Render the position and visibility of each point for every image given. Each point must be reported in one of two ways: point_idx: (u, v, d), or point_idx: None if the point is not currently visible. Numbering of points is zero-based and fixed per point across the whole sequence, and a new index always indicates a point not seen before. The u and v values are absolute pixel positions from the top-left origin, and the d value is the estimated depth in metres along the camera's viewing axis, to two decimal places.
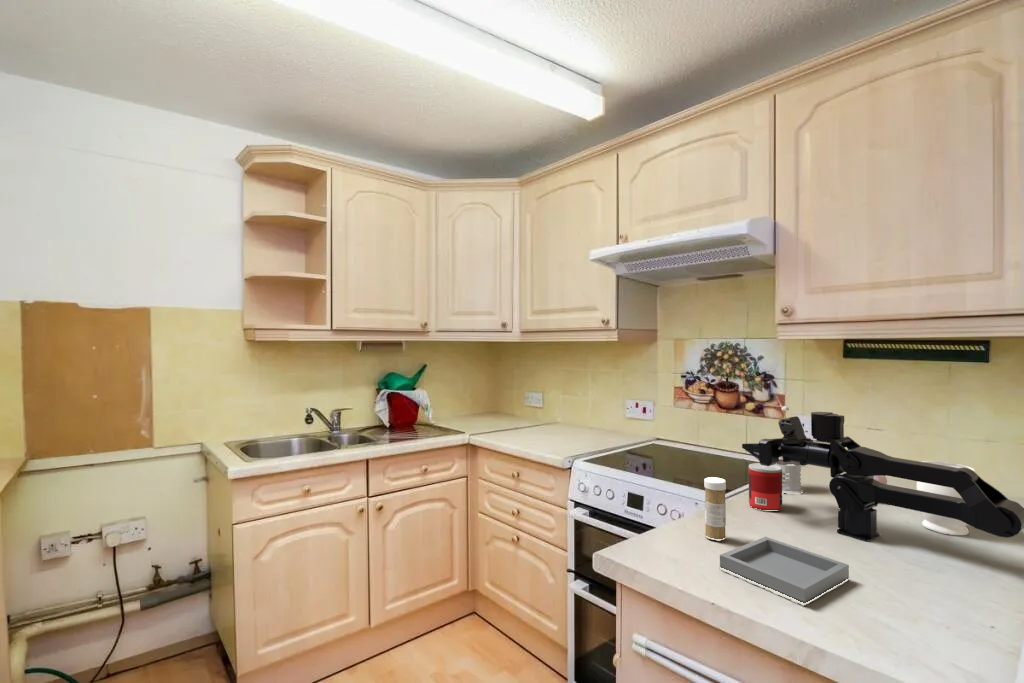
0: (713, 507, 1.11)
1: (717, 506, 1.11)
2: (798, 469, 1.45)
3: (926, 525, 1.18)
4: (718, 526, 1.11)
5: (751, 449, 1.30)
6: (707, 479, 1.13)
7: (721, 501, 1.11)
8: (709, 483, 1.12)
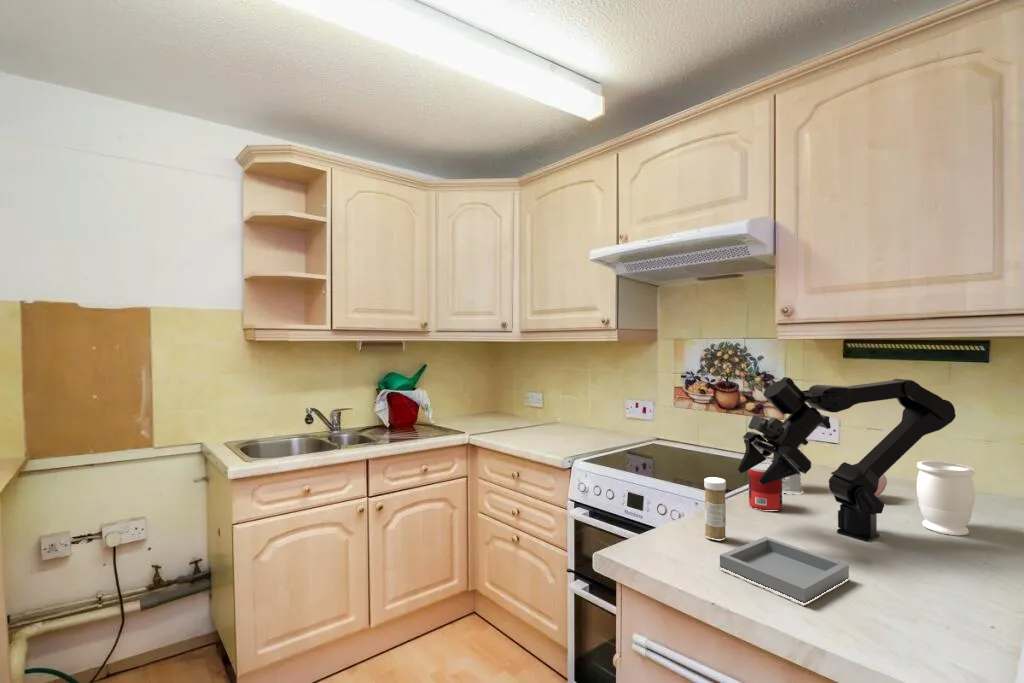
0: (713, 507, 1.11)
1: (717, 506, 1.11)
2: None
3: (926, 525, 1.18)
4: (718, 526, 1.11)
5: (774, 475, 1.08)
6: (707, 479, 1.13)
7: (721, 501, 1.11)
8: (709, 483, 1.11)
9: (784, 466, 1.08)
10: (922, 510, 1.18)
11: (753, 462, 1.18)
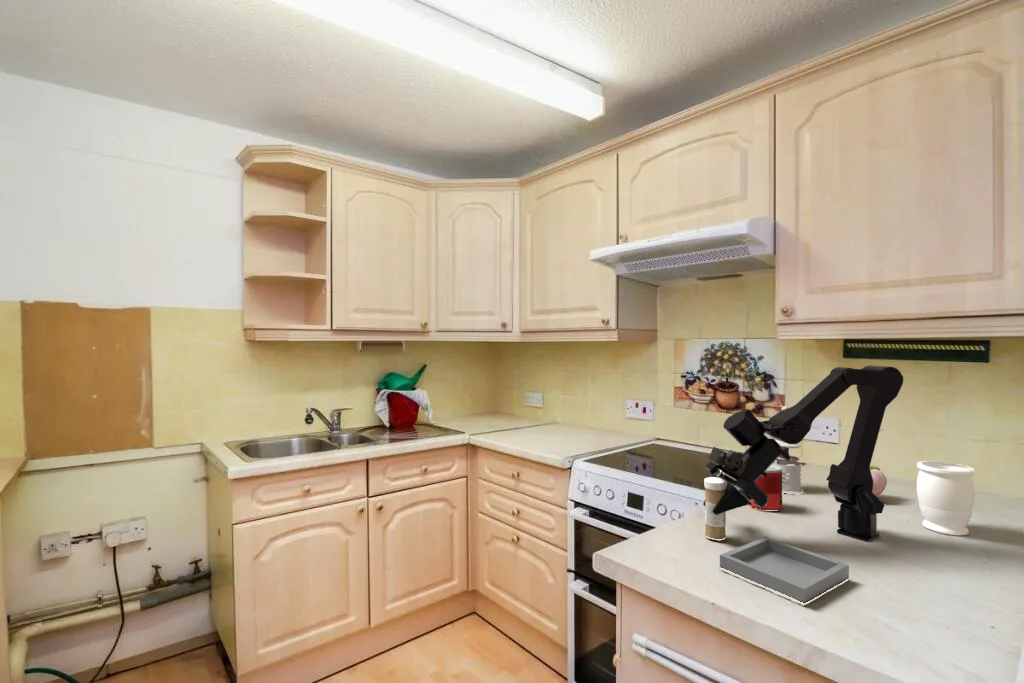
0: (713, 507, 1.11)
1: None
2: (798, 469, 1.45)
3: (926, 525, 1.18)
4: (718, 526, 1.11)
5: (727, 505, 1.10)
6: (707, 479, 1.13)
7: None
8: (709, 483, 1.12)
9: (737, 496, 1.10)
10: (922, 510, 1.18)
11: None
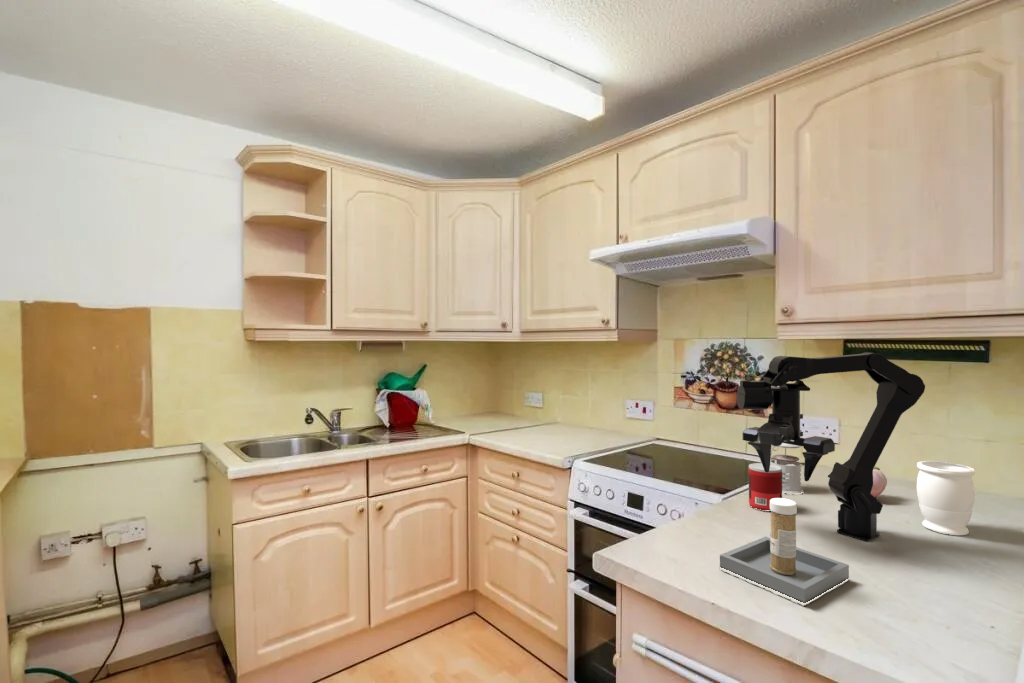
0: (789, 535, 0.93)
1: (793, 533, 0.93)
2: (798, 469, 1.45)
3: (926, 525, 1.18)
4: (793, 557, 0.93)
5: (812, 467, 1.12)
6: (777, 502, 0.95)
7: (795, 526, 0.94)
8: (785, 507, 0.93)
9: None
10: (922, 510, 1.18)
11: (768, 454, 1.21)
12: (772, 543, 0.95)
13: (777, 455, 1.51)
